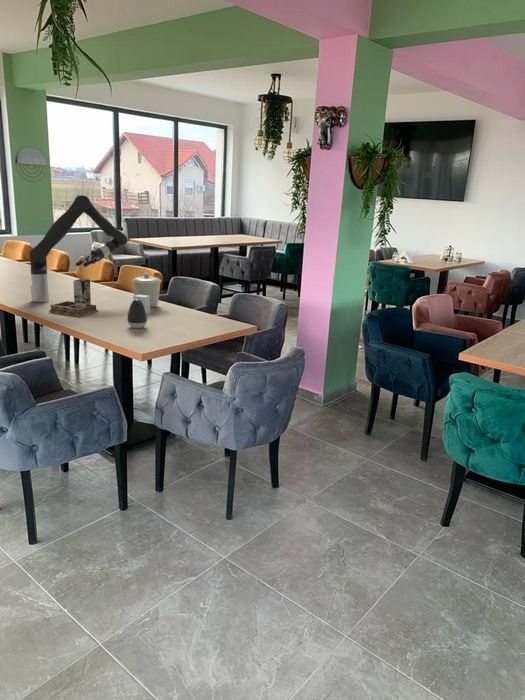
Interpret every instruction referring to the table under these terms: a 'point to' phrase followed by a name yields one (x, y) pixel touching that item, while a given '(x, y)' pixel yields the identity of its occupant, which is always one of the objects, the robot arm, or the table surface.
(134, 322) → the black and white dome
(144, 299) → the small box
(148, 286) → the canister
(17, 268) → the table surface
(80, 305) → the caddy
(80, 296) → the coffee box
